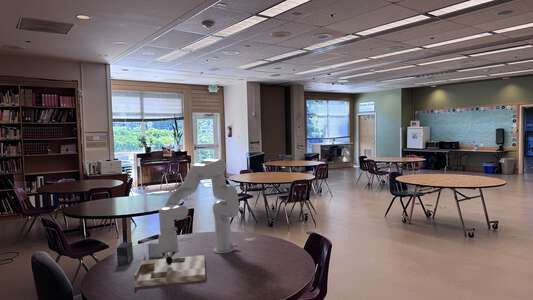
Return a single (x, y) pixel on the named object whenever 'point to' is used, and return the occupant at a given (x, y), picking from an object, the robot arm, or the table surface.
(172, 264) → the box
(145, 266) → the walnut block
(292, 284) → the table surface
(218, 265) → the table surface
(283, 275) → the table surface
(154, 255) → the medicine box
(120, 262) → the small box
